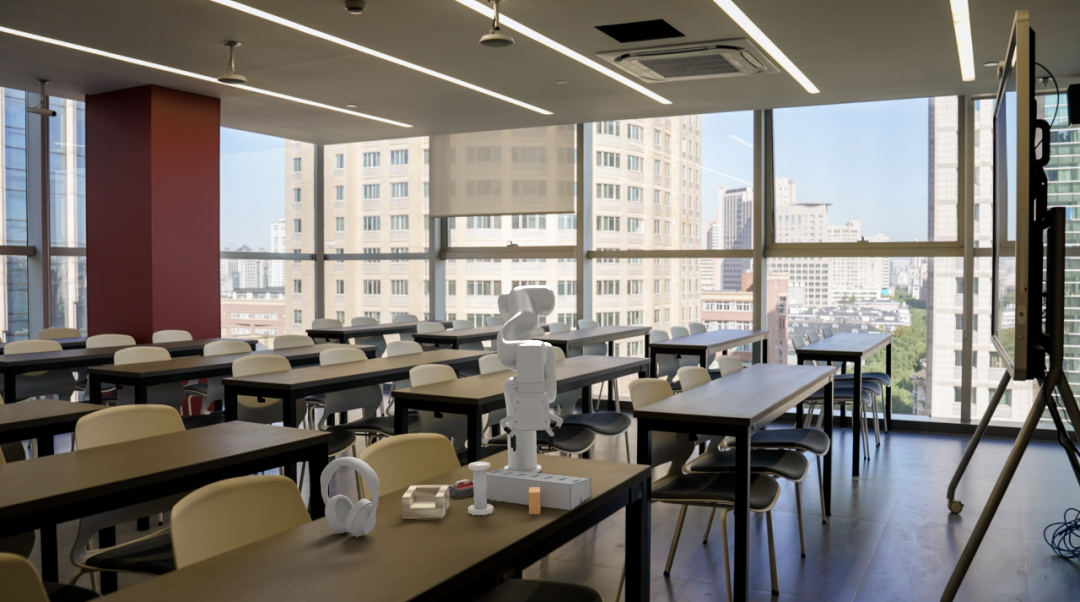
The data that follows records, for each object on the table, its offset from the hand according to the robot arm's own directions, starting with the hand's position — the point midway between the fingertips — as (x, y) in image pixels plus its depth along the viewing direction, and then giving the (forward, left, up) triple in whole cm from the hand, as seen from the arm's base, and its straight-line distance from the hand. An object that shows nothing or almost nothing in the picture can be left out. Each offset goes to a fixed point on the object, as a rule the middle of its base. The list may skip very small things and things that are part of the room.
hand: (532, 450), depth 213 cm
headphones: (+18, -46, -17) cm, 52 cm away
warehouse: (-13, -1, -18) cm, 22 cm away
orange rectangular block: (0, 0, -17) cm, 17 cm away
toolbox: (-18, -23, -18) cm, 34 cm away
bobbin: (0, -15, -17) cm, 22 cm away
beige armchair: (0, -30, -17) cm, 34 cm away
